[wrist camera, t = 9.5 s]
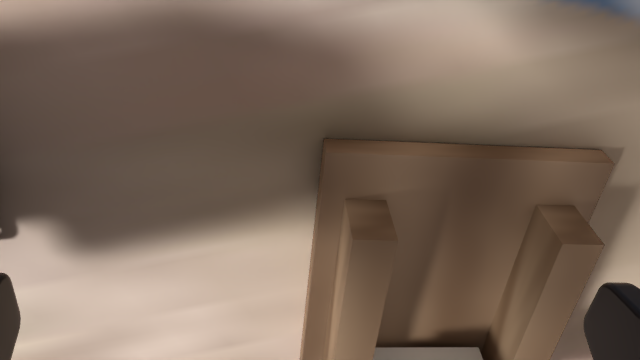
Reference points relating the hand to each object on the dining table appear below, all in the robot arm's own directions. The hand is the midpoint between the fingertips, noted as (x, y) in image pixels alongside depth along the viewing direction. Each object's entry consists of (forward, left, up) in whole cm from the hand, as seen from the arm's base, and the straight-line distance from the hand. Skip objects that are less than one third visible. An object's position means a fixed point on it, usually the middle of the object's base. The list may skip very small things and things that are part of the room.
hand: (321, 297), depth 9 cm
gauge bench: (+7, -15, -12) cm, 20 cm away
